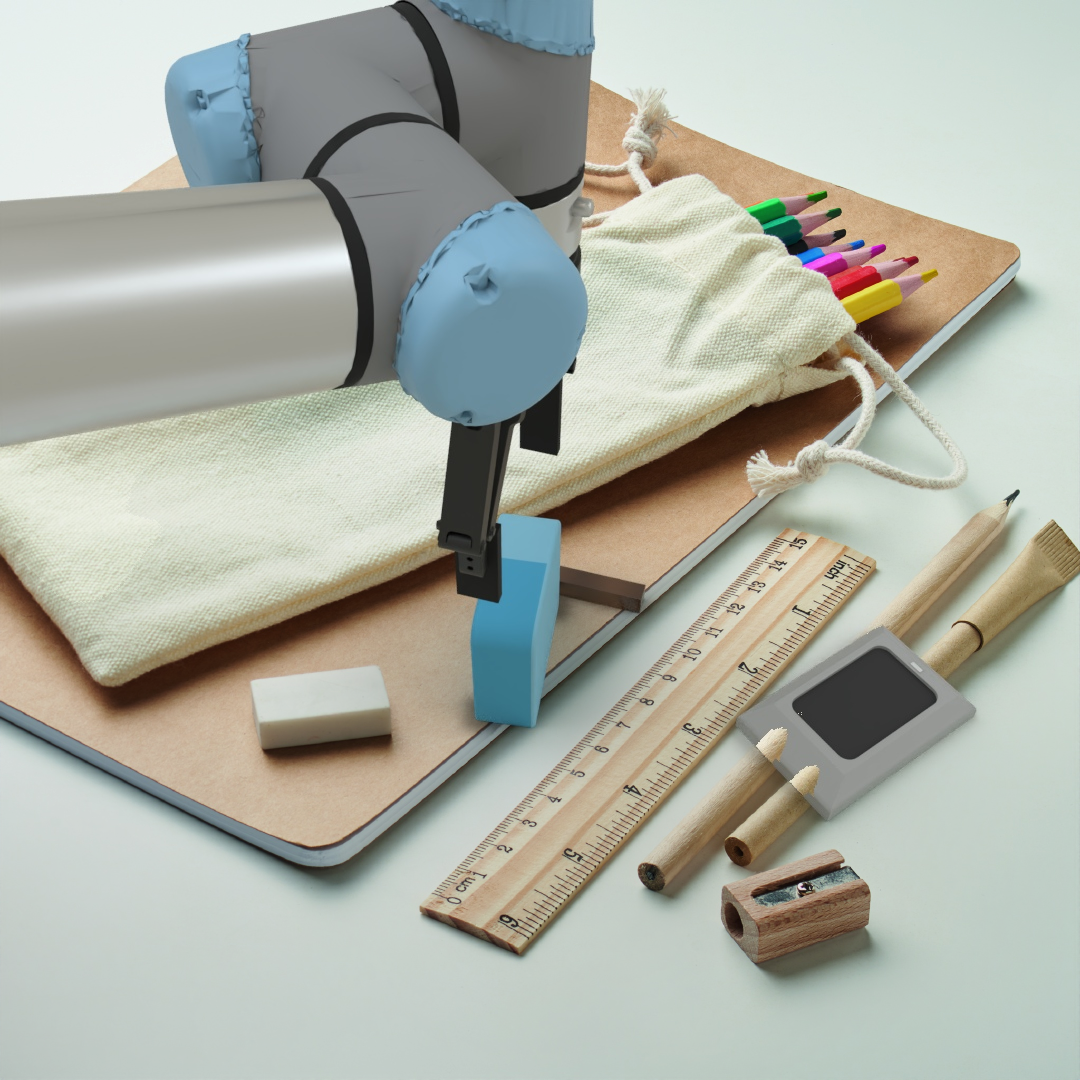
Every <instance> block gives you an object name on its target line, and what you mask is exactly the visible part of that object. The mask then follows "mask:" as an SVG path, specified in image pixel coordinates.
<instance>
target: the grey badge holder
mask: <svg viewBox="0 0 1080 1080" xmlns="http://www.w3.org/2000/svg"><path fill="white" fill-rule="evenodd" d="M882 625H883V626H881V625H880V626H881V627H879V626H877V627H878V628H877V627H875V628H876V629H875V628H873V629H871V630H872V631H871V630H869V631H868V632H869V633H868V632H867V633H868V634H867V633H865V634H863V635H862V636H861V637H859V638H857V639H855V640H854V641H853V642H851V643H849V644H848V645H847V646H844V647H843V648H841V649H840V650H839V651H837V652H835V653H833V655H830V656H829V657H828V658H826V659H825V660H823V661H821V662H820V663H819V664H817V665H815V666H814V667H812V668H810V669H809V670H807V671H806V672H805V673H803V674H801V675H800V676H798V677H796V678H795V679H794V680H792V681H791V682H789V683H788V684H785V685H784V686H783V687H781V688H780V689H778V690H776V691H775V692H774V693H772V694H770V695H769V696H767V697H765V698H764V699H763V700H761V701H759V702H758V703H756V704H754V705H753V706H752V707H750V708H748V709H747V710H745V711H744V712H742V713H741V714H740V715H738V716H737V717H736V720H735V725H734V726H735V727H736V728H737V729H738V730H739V731H740V733H742V734H743V736H745V737H746V739H747V740H748V741H749V742H750V743H751V744H752V745H753V746H754V747H755V746H756V745H757V744H758V742H760V740H761V739H762V738H763V737H764V736H765V735H766V734H767V733H768V732H769V731H770V730H771V729H773V730H775V729H777V728H778V729H779V728H781V727H783V728H782V729H787V734H788V735H787V741H786V743H785V747H784V748H783V751H782V753H781V757H780V760H779V761H780V762H779V761H778V760H777V759H775V760H774V761H773V763H770V764H771V765H772V766H773V767H774V768H775V769H776V770H777V771H778V772H779V773H780V774H781V775H782V776H783V778H785V780H786V781H788V782H789V781H790V780H792V779H793V778H794V776H795V775H796V774H798V773H799V771H800V770H802V769H804V768H805V767H806V766H808V767H809V766H814V765H817V766H816V767H818V768H819V769H820V771H818V772H819V777H818V780H817V785H815V788H814V793H813V796H814V797H813V796H812V795H811V794H810V793H809V792H808V793H807V794H805V796H802V798H804V799H805V800H806V802H807V803H808V804H810V806H811V807H812V808H813V809H814V810H815V811H816V812H817V813H818V815H820V816H821V817H822V818H823V819H824V820H825V822H829V821H830V820H831V819H833V818H834V817H836V816H837V815H839V814H840V813H841V812H843V811H844V810H845V809H847V808H848V807H850V806H851V805H852V804H854V803H855V802H856V801H858V800H859V799H861V798H862V797H864V796H865V795H866V794H868V793H869V792H870V791H872V790H874V789H875V788H876V787H877V786H879V785H881V784H882V783H883V782H884V781H886V780H887V779H889V778H890V777H892V776H893V775H894V774H896V773H897V772H898V771H900V770H901V769H902V768H904V767H905V766H907V765H908V764H910V763H911V762H912V761H913V760H915V759H916V758H918V757H919V756H922V754H924V753H925V752H927V750H929V749H930V748H932V747H933V746H935V745H936V744H937V743H939V742H940V741H942V740H943V739H944V738H946V737H948V736H949V735H950V734H951V733H953V732H954V731H956V730H957V729H959V728H960V727H961V726H963V725H964V724H965V723H967V722H968V721H970V720H972V718H974V717H975V715H976V713H977V707H976V706H975V705H973V704H972V703H971V701H969V700H968V699H967V698H966V697H965V696H963V694H961V693H960V692H959V690H957V689H955V688H954V687H953V686H952V685H951V684H950V683H949V682H948V681H947V680H946V679H945V678H943V677H942V676H941V675H940V674H939V673H938V672H936V671H935V670H934V669H933V668H932V667H931V666H930V665H929V664H927V662H925V661H924V660H923V659H922V658H921V657H920V656H919V655H918V654H916V653H915V652H914V651H913V650H912V649H911V648H909V647H908V646H907V645H906V644H905V643H904V642H903V641H902V640H901V639H900V638H898V636H896V634H894V633H893V632H892V631H891V630H889V629H888V628H887V627H886V626H885V624H882ZM801 712H802V713H801ZM798 713H799V714H798ZM801 714H802V715H801Z"/></svg>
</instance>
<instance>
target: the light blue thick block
mask: <svg viewBox="0 0 1080 1080" xmlns="http://www.w3.org/2000/svg"><path fill="white" fill-rule="evenodd" d="M496 523H500V524H501V546H502V596H501V599H500V601H499V604H498V603H494V602H490V601H485V600H481V599H477V601H476V605H475V608H474V612H473V616H472V623H471V629H470V641H469V643H470V657H471V670H472V671H471V675H472V689H473V706H474V707H473V709H474V718H475V720H477V721H482V722H487V723H488V722H489V723H493V724H494V723H495V724H500V725H501V724H502V725H509V726H514V727H515V726H517V727H522V728H523V727H524V728H530V729H534V728H535V727H536V725H537V720H538V715H539V711H540V710H539V709H540V706H541V705H540V704H541V699H542V694H543V690H544V684H545V680H546V679H545V678H546V673H547V669H548V662H549V659H550V653H551V648H552V643H553V637H554V631H555V628H556V627H555V626H556V622H557V615H558V610H559V606H560V595H559V581H560V566H561V543H562V542H561V541H562V523H561V521H560V520H559V519H555V518H554V519H553V518H546V517H538V516H530V515H529V516H528V515H521V514H513V513H505V512H502V513H501V514H499V516H498V517H497V520H496Z"/></svg>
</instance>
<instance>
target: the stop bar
mask: <svg viewBox="0 0 1080 1080" xmlns="http://www.w3.org/2000/svg"><path fill="white" fill-rule="evenodd" d="M645 593H646V584H643V583H639V582H634V581H630V580H626V579H622V578H617V577H612V576H607V575H604V574H599V573H595V572H590V571H587V570H586V571H585V570H581V569H576V568H574V567H573V568H572V567H568V566H565V565H564V566H563V565H560V581H559V596H562V597H566V598H570V599H574V600H579V601H583V602H587V603H591V604H596V605H601V606H605V607H609V608H614V609H618V610H621V611H627V612H631V613H636V614H640V613H641V610H642V608H643V603H644V601H645Z"/></svg>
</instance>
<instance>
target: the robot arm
mask: <svg viewBox="0 0 1080 1080" xmlns="http://www.w3.org/2000/svg"><path fill="white" fill-rule="evenodd" d="M594 31H595V30H594V0H396V1H395V2H394V3H393V4H388V5H385V6H379V7H375V8H370V9H366V10H361V11H357V12H352V13H347V14H343V15H338V16H334V17H333V16H332V17H328V18H325V19H320V20H316V21H311V22H306V23H301V24H296V25H293V26H287V27H284V28H278V29H275V30H270V31H265V32H260V33H256V34H251V32H247V33H242V34H240V36H239V37H238V38H237V39H235V40H232V41H228V42H225V43H222V44H219V45H216V46H215V45H214V46H212V47H209V48H206V49H202V50H199V51H196V52H192V53H189V54H186V55H183V56H181V57H179V58H178V59H177V60H176V61H175V62H173V64H171V66H170V67H169V69H168V71H167V74H166V78H165V82H164V104H165V111H166V117H167V121H168V126H169V130H170V134H171V138H172V141H173V144H174V145H173V146H174V148H175V151H176V154H177V158H178V160H179V161H178V162H179V163H180V167H181V169H182V172H183V174H184V177H185V179H186V182H187V184H188V186H187V187H173V188H162V189H161V188H160V189H145V190H131V191H120V192H119V191H118V192H106V193H91V194H78V195H64V196H52V197H38V198H37V197H36V198H25V199H10V200H9V199H8V200H0V448H6V447H10V446H16V445H22V444H28V443H34V442H39V441H46V440H51V439H57V438H63V437H68V436H69V437H70V436H74V435H75V436H76V435H81V434H85V433H92V432H97V431H105V430H109V429H114V428H120V427H125V426H126V427H127V426H131V425H137V424H143V423H150V422H154V421H161V420H167V419H172V418H178V417H184V416H190V415H195V414H200V413H207V412H212V411H219V410H224V409H230V408H235V407H241V406H248V405H253V404H258V403H265V402H270V401H276V400H282V399H289V398H293V397H299V396H304V395H310V394H316V393H321V392H322V393H323V392H328V391H334V390H340V389H347V388H354V387H364V386H369V385H375V384H381V383H386V382H391V381H398V383H399V384H400V387H401V389H402V391H403V392H404V394H406V396H411V397H412V399H413V400H415V401H416V402H418V403H420V404H421V406H423V408H424V409H426V411H428V412H429V413H430V414H431V415H433V416H435V417H437V418H440V419H442V420H445V421H447V422H451V424H450V434H449V440H448V441H449V443H448V451H447V460H446V469H445V477H444V486H443V495H442V503H441V512H440V518H439V519H437V520H436V522H435V528H436V530H438V534H437V547H438V548H439V549H443V550H448V551H453V552H454V567H455V585H456V594H457V595H460V596H464V597H469V598H473V599H477V600H478V599H481V600H485V601H490V602H494V603H498V604H499V601H500V599H501V596H502V546H501V524H500V523H497V520H498V513H499V508H500V503H501V498H502V492H503V488H504V482H505V478H506V477H505V476H506V471H507V466H508V461H509V456H510V450H511V446H512V445H511V443H512V439H513V435H514V429H515V426H516V425H518V424H519V449H522V450H527V451H532V452H537V453H541V454H546V455H551V456H556V457H558V455H559V453H560V450H561V439H562V437H561V433H562V409H563V386H564V385H563V382H564V376H565V375H566V374H569V375H574V373H575V372H576V371H575V370H576V367H577V362H578V361H577V360H578V358H577V355H578V353H579V351H580V349H581V345H582V341H583V336H584V334H585V333H586V327H587V322H588V316H589V301H588V300H589V299H588V293H587V289H586V286H585V283H584V281H583V277H582V276H581V275H582V273H581V272H582V248H581V239H582V234H583V233H582V232H583V218H584V219H586V218H590V217H591V216H593V214H594V212H595V211H594V210H595V203H594V201H593V198H589V197H584V196H583V188H584V184H585V170H586V158H587V144H588V143H587V141H588V123H589V107H590V93H591V78H592V60H593V52H594V50H596V37H595V35H594Z"/></svg>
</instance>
